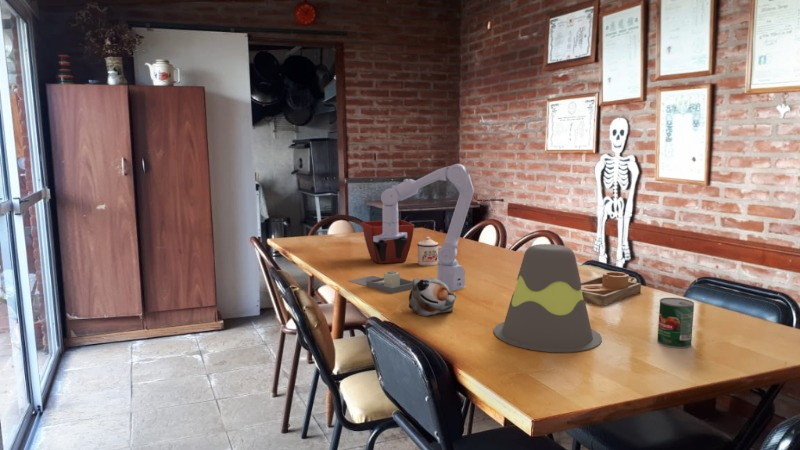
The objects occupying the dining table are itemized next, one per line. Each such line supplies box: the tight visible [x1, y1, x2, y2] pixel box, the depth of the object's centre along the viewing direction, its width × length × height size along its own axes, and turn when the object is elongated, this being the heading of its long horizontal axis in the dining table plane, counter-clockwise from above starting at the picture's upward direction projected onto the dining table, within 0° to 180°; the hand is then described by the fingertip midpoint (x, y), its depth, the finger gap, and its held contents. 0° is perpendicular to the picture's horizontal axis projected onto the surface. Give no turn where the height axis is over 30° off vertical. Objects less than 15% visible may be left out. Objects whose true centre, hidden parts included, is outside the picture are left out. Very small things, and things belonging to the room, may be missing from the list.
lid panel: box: [348, 275, 380, 287], centre depth 212 cm, size 11×12×1 cm
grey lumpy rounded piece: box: [408, 277, 457, 317], centre depth 172 cm, size 15×12×14 cm
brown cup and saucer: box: [581, 271, 630, 295], centre depth 194 cm, size 18×8×7 cm, turn 104°
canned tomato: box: [656, 297, 695, 349], centre depth 145 cm, size 8×8×11 cm
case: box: [366, 277, 413, 294], centre depth 203 cm, size 14×12×2 cm
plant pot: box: [361, 219, 415, 264], centre depth 252 cm, size 19×19×17 cm
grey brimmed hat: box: [493, 243, 603, 354], centre depth 151 cm, size 28×28×24 cm
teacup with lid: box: [416, 236, 442, 267], centre depth 245 cm, size 12×9×12 cm
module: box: [383, 270, 401, 287], centre depth 203 cm, size 4×4×5 cm
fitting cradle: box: [581, 275, 642, 306], centre depth 194 cm, size 15×25×3 cm, turn 132°
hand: (390, 259), depth 206 cm, fingers open, 7 cm apart
